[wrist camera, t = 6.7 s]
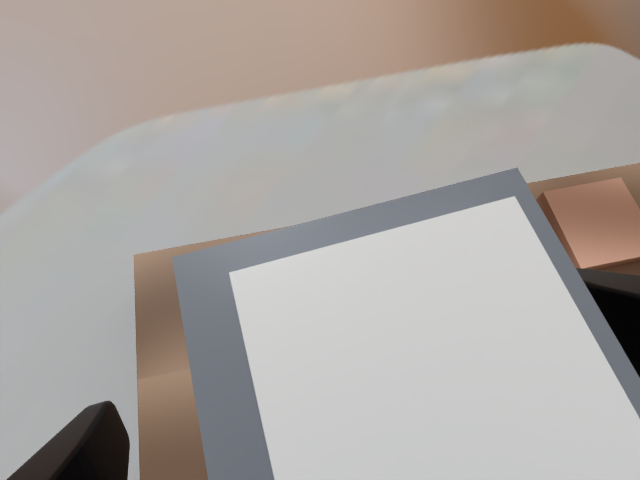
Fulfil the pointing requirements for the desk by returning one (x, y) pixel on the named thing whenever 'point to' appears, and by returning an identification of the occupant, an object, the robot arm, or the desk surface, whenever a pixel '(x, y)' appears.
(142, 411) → the socket board
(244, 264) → the plug
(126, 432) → the robot arm
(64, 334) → the desk surface
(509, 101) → the desk surface
